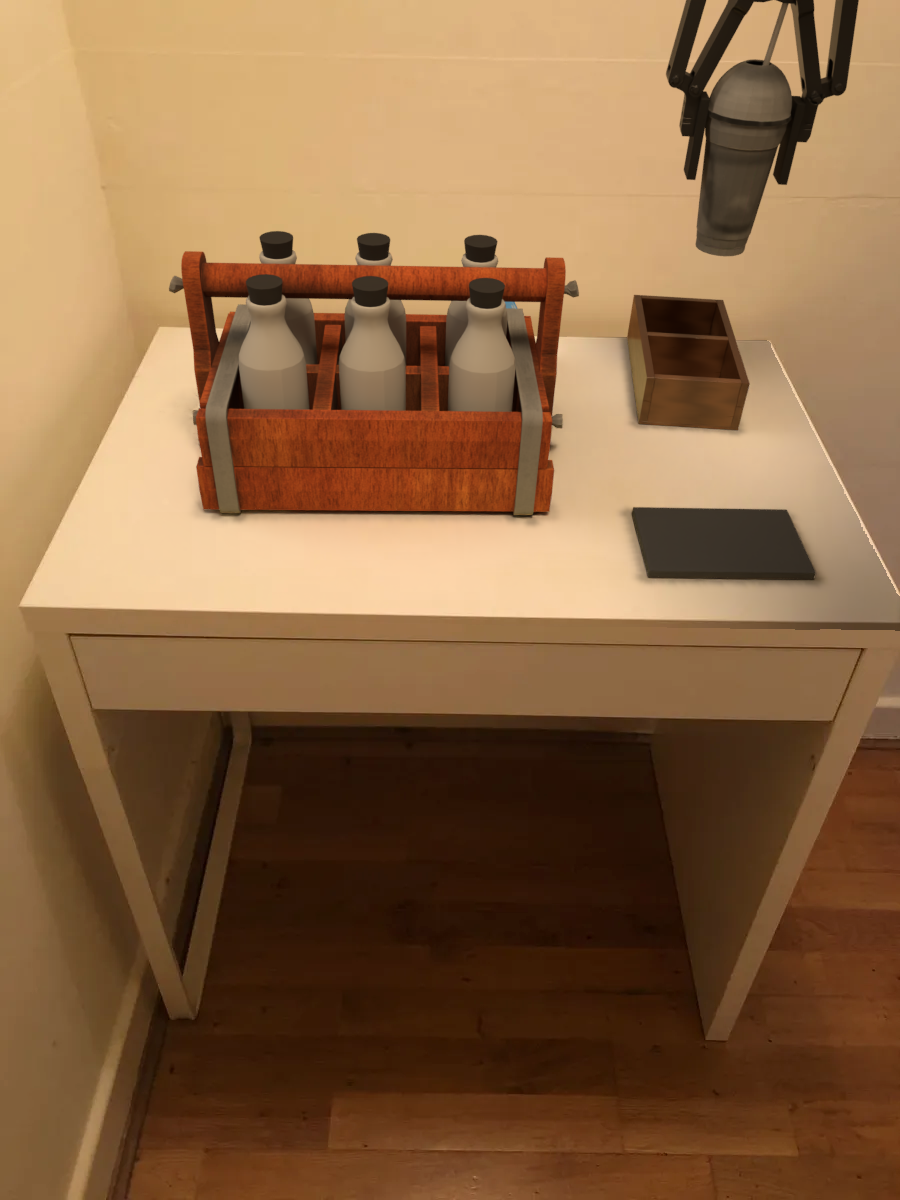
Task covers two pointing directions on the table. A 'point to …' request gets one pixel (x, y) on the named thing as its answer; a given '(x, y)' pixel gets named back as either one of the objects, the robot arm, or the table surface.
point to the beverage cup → (741, 149)
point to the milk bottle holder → (374, 382)
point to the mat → (721, 544)
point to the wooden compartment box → (685, 363)
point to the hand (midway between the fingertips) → (734, 176)
